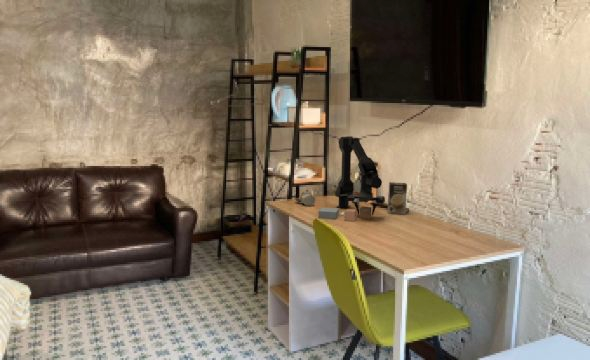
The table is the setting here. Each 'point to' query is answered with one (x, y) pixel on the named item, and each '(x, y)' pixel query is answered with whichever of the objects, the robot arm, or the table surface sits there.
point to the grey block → (328, 213)
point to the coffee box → (397, 198)
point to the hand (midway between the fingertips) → (365, 215)
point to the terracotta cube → (350, 215)
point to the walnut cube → (365, 212)
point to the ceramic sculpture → (306, 198)
